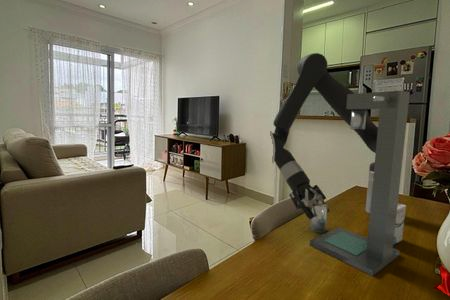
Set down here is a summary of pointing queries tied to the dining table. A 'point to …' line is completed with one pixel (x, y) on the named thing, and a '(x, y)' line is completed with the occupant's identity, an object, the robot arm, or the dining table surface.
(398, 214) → the ink box
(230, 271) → the dining table surface
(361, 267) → the press
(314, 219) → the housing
